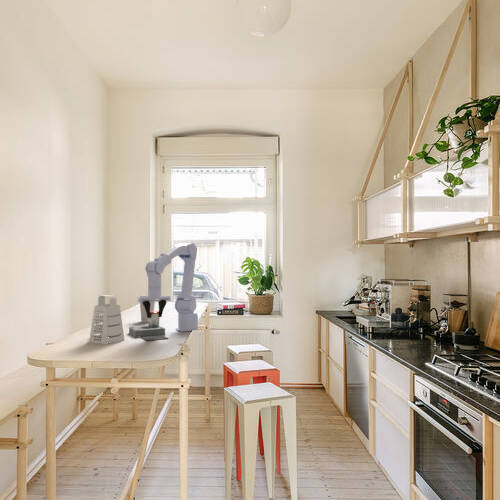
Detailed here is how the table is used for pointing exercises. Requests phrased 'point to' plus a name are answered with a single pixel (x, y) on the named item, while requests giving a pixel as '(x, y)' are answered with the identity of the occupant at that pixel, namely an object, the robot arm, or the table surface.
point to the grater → (107, 322)
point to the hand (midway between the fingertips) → (154, 317)
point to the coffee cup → (143, 311)
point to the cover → (154, 319)
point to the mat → (154, 337)
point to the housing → (146, 331)
